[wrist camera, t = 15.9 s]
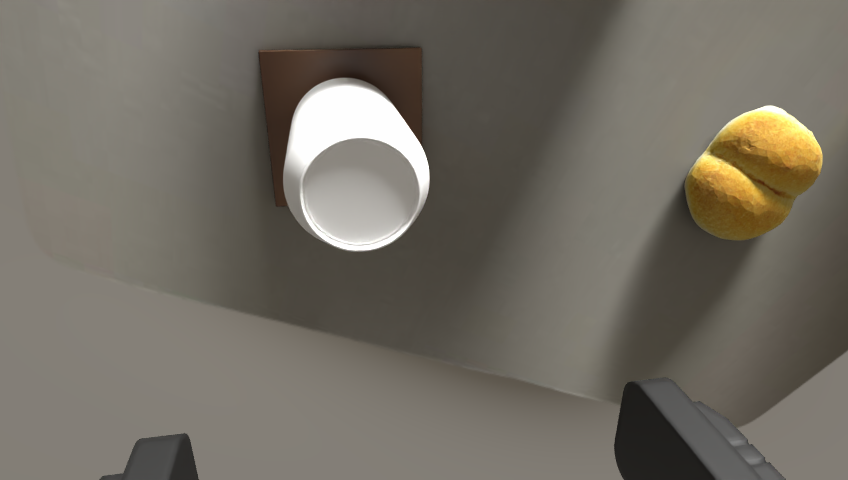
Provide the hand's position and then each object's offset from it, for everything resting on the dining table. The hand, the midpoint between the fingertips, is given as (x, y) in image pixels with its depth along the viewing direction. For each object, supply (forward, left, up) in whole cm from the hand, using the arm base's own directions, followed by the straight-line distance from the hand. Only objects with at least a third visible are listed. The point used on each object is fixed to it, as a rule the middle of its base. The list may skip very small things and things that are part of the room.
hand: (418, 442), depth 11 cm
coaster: (0, 0, -26) cm, 26 cm away
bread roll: (+27, -4, -26) cm, 38 cm away
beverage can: (0, 0, -26) cm, 26 cm away
